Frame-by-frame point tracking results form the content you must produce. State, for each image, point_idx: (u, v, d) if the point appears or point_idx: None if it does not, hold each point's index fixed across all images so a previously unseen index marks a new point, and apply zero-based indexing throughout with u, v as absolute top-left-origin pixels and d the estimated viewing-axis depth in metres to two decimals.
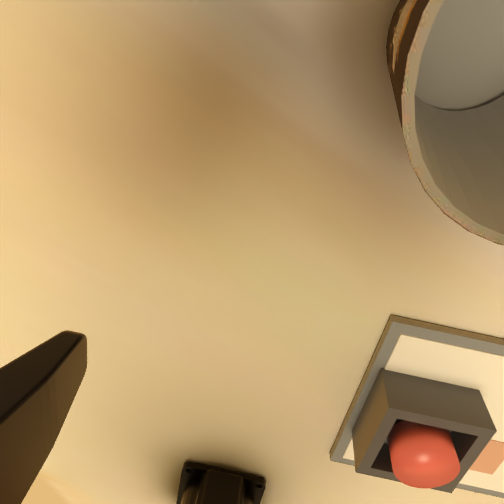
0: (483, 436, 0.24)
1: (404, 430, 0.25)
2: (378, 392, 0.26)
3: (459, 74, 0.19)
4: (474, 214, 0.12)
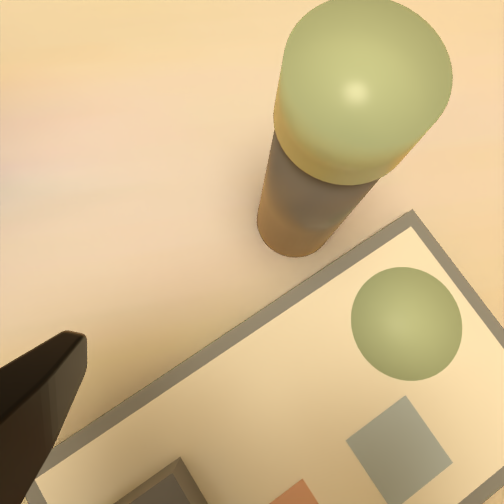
0: (170, 495, 0.17)
1: None
2: None
3: None
4: None
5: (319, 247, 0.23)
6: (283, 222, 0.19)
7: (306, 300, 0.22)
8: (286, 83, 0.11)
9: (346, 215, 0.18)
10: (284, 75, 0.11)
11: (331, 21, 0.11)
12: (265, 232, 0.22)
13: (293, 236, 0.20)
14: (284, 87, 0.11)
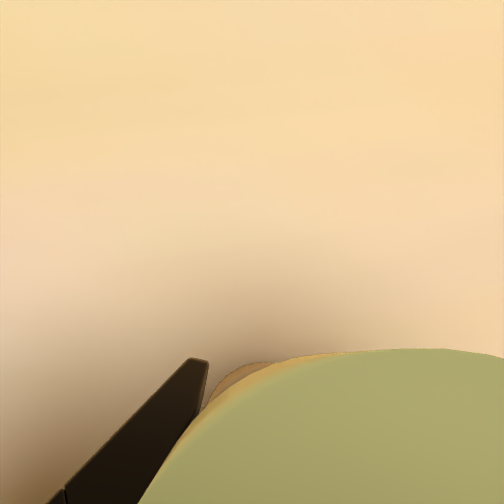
0: None
1: None
2: None
3: None
4: None
5: None
6: None
7: None
8: None
9: None
10: None
11: (286, 498, 0.03)
12: None
13: None
14: None
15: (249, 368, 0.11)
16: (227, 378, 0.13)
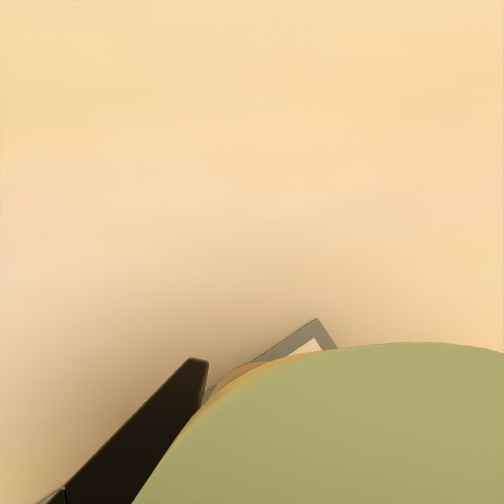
0: None
1: None
2: None
3: None
4: None
5: None
6: None
7: None
8: None
9: None
10: None
11: (284, 491, 0.03)
12: None
13: None
14: None
15: (248, 366, 0.11)
16: (226, 377, 0.13)
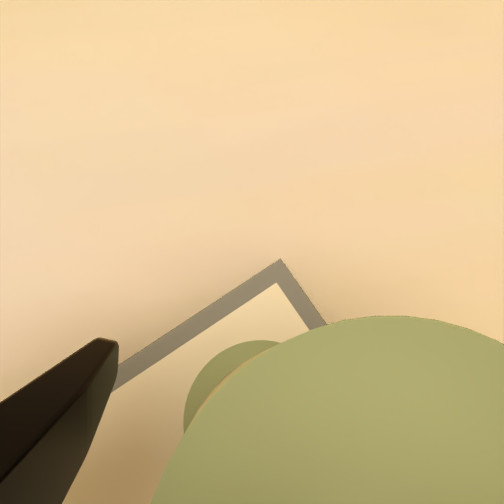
0: None
1: None
2: None
3: None
4: None
5: None
6: None
7: (124, 389, 0.16)
8: None
9: None
10: None
11: (296, 419, 0.04)
12: None
13: None
14: None
15: None
16: None
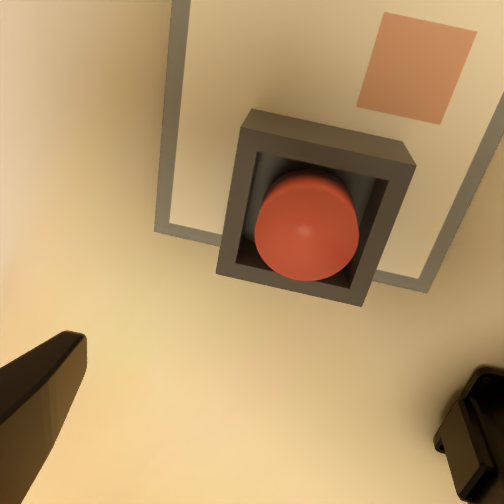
0: (256, 144, 0.15)
1: None
2: None
3: None
4: None
5: None
6: None
7: None
8: None
9: None
10: None
11: None
12: None
13: None
14: None
15: None
16: None
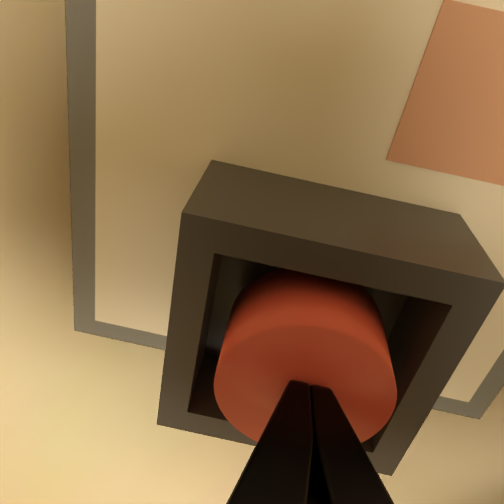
0: (212, 241, 0.08)
1: None
2: None
3: None
4: None
5: None
6: None
7: None
8: None
9: None
10: None
11: None
12: None
13: None
14: None
15: None
16: None
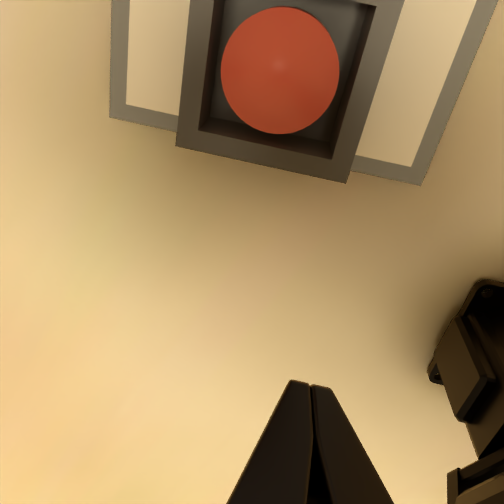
0: None
1: None
2: None
3: None
4: None
5: None
6: None
7: None
8: None
9: None
10: None
11: None
12: None
13: None
14: None
15: None
16: None
